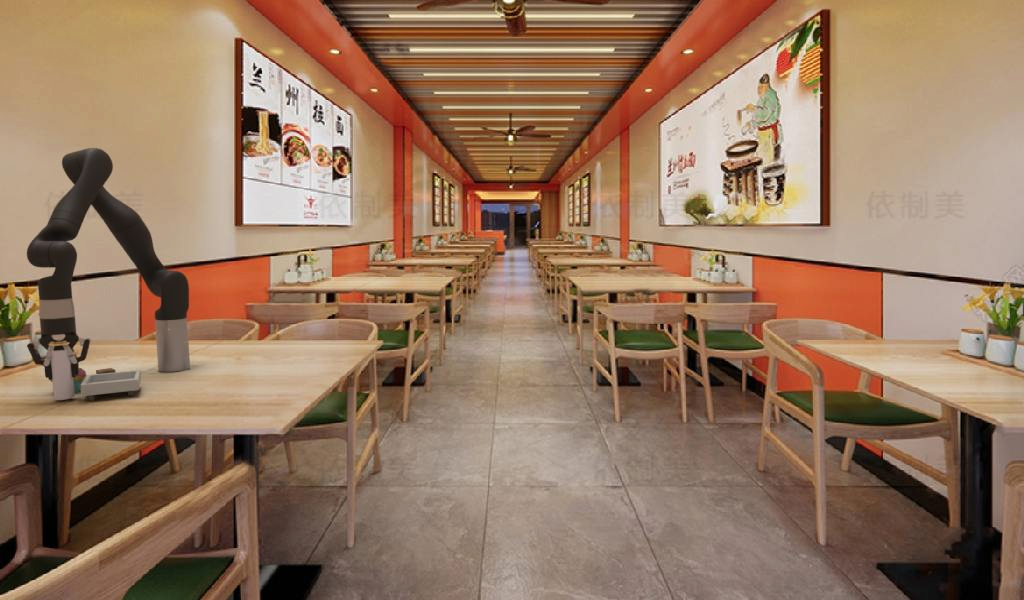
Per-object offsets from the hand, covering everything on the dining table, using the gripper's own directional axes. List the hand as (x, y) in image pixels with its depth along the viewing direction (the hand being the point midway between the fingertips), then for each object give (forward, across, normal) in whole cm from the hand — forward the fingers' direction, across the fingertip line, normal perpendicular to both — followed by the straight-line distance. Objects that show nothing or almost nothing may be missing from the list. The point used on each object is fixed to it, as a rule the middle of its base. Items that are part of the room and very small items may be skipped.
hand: (62, 377), depth 159 cm
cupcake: (+7, 0, -11) cm, 13 cm away
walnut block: (+6, -8, -18) cm, 21 cm away
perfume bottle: (+7, 0, 0) cm, 7 cm away
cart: (+6, -11, 0) cm, 13 cm away
